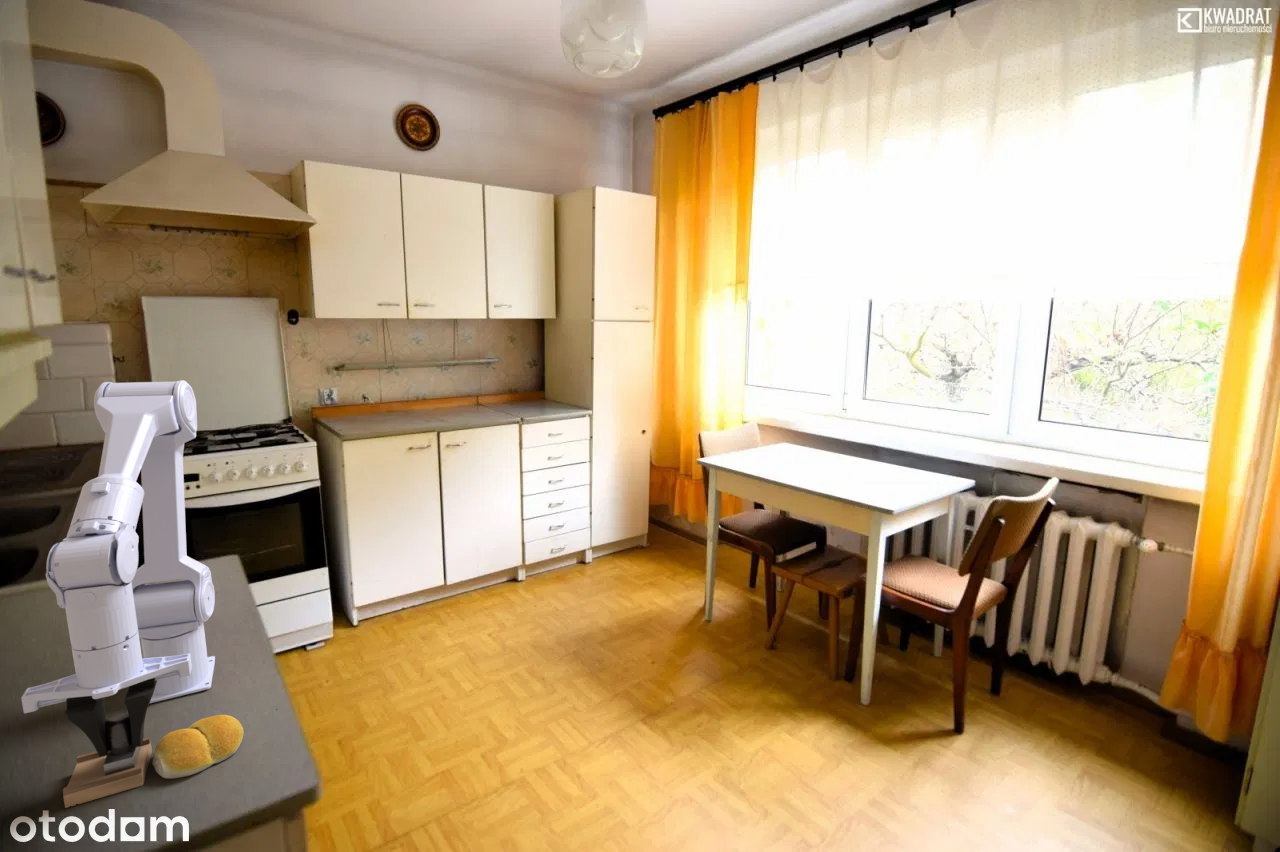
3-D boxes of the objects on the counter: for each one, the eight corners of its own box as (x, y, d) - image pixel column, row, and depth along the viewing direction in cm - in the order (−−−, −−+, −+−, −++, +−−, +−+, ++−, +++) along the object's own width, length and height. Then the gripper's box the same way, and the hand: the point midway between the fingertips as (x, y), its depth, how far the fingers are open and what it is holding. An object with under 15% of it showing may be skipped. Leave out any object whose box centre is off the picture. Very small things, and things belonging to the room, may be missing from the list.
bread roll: (255, 747, 77) (252, 718, 77) (170, 791, 70) (166, 759, 69) (227, 722, 82) (224, 694, 81) (144, 760, 75) (140, 730, 74)
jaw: (114, 752, 73) (108, 712, 72) (141, 744, 75) (136, 705, 74) (105, 776, 69) (98, 735, 69) (134, 768, 71) (128, 727, 70)
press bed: (80, 771, 73) (77, 755, 72) (152, 751, 76) (149, 736, 76) (65, 808, 67) (62, 790, 67) (143, 785, 71) (140, 768, 70)
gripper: (3, 673, 62) (25, 792, 65) (181, 637, 70) (194, 745, 72) (26, 642, 68) (45, 752, 71) (187, 611, 76) (200, 712, 78)
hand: (121, 746), depth 72 cm, fingers closed on jaw, 2 cm apart
